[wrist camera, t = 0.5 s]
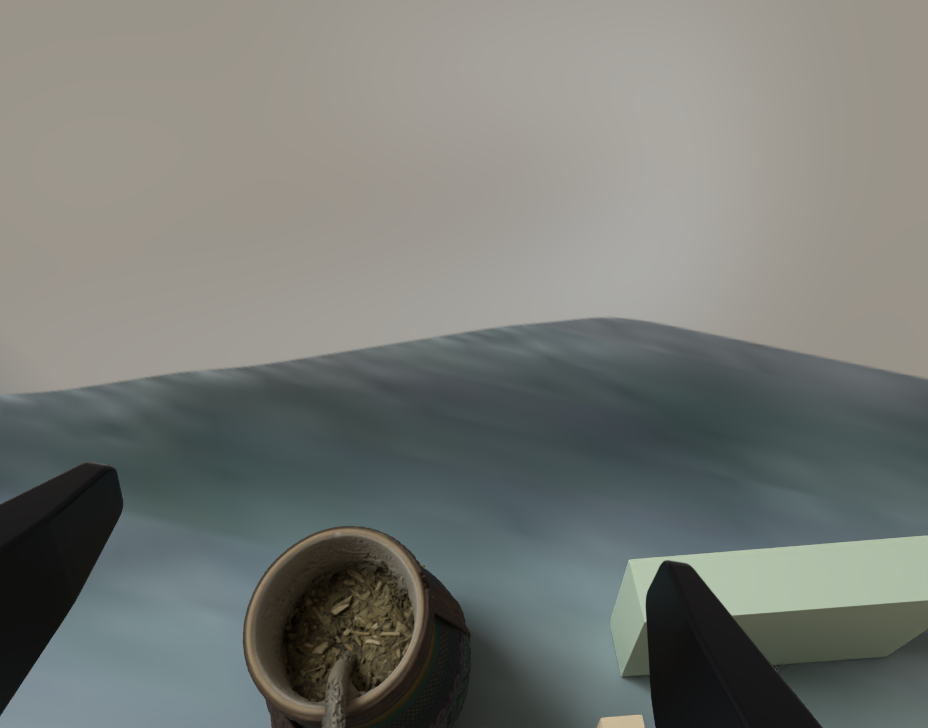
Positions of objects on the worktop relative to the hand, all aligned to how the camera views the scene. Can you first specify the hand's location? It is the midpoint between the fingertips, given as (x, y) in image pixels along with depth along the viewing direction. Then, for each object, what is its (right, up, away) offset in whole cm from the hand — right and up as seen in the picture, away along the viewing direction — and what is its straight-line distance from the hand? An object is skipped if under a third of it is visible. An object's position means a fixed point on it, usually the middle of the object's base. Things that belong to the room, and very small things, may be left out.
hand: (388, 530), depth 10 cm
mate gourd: (-2, -10, +14) cm, 17 cm away
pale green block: (+12, -8, +14) cm, 20 cm away
